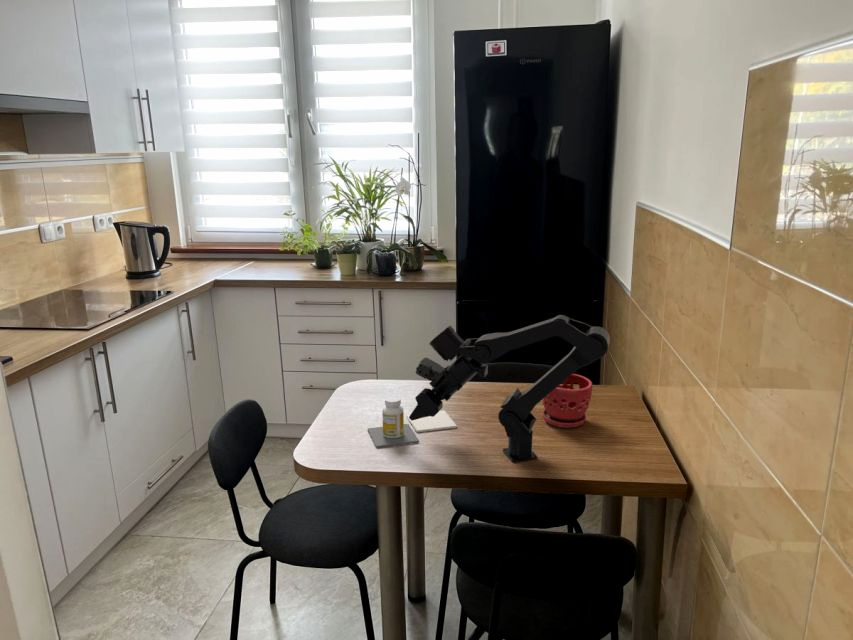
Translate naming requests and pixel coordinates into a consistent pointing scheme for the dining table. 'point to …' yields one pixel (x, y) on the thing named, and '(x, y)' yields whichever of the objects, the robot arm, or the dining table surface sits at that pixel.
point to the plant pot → (568, 402)
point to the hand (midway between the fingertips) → (416, 411)
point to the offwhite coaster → (433, 422)
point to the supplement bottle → (393, 418)
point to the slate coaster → (383, 441)
